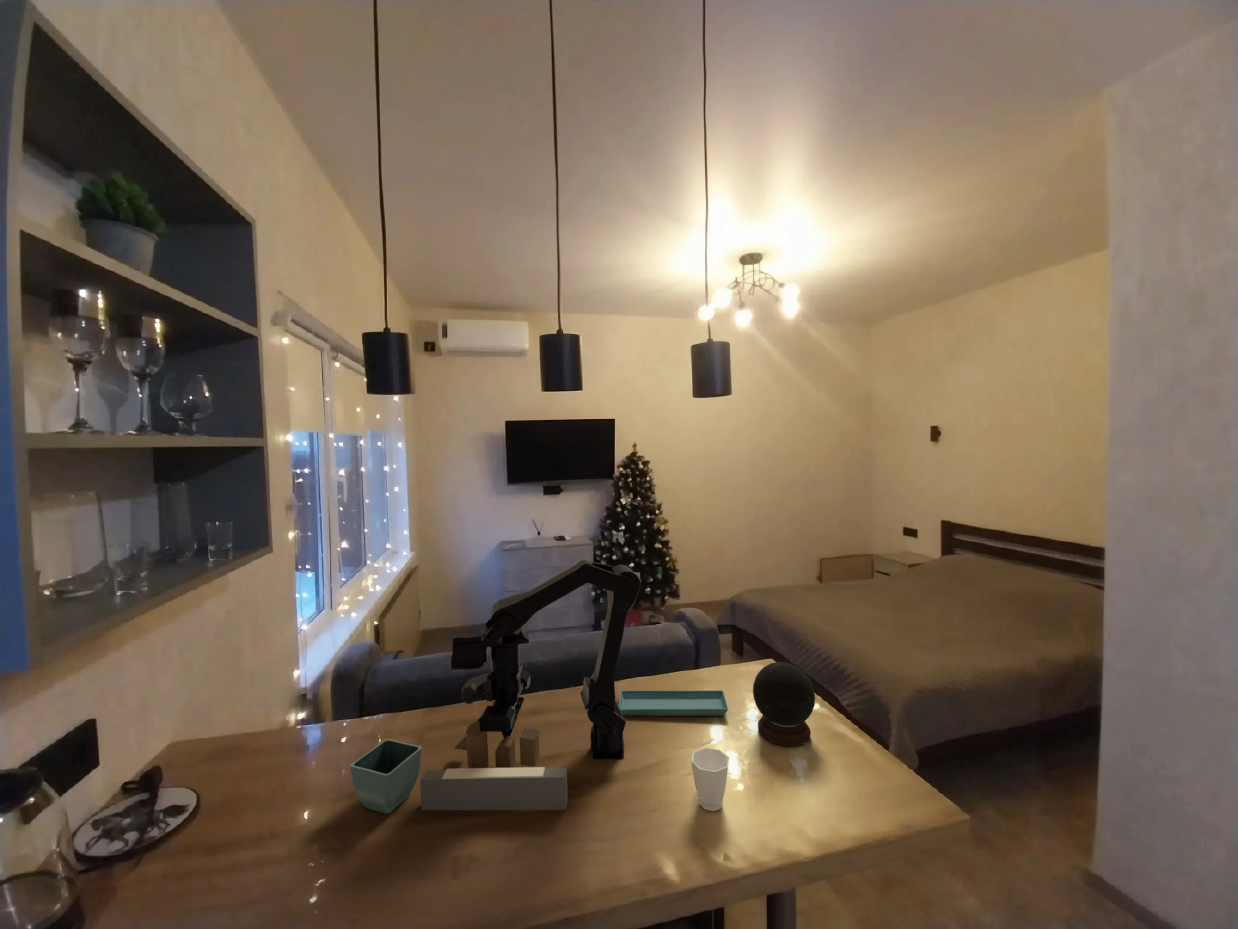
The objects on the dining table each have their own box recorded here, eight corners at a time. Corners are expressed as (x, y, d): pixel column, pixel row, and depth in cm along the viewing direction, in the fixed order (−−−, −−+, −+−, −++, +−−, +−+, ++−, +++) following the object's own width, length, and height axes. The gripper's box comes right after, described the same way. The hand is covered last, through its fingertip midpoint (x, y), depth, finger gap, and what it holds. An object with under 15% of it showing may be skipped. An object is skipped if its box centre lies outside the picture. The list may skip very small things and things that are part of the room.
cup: (696, 818, 86) (695, 773, 86) (683, 780, 96) (683, 739, 96) (736, 815, 87) (735, 769, 87) (719, 777, 97) (718, 736, 97)
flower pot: (425, 792, 95) (423, 746, 94) (389, 826, 86) (387, 775, 86) (388, 782, 98) (386, 738, 97) (350, 815, 89) (348, 766, 89)
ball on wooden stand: (743, 733, 111) (742, 667, 110) (768, 708, 121) (767, 647, 120) (802, 756, 102) (801, 684, 102) (824, 727, 112) (823, 662, 112)
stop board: (567, 800, 91) (566, 766, 91) (566, 810, 89) (565, 775, 89) (426, 802, 92) (425, 769, 92) (421, 812, 89) (419, 777, 89)
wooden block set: (542, 755, 104) (541, 712, 102) (528, 790, 95) (527, 743, 93) (461, 745, 106) (458, 702, 104) (440, 777, 98) (437, 732, 96)
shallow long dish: (617, 717, 119) (617, 707, 119) (620, 698, 129) (620, 688, 128) (728, 719, 117) (728, 709, 117) (723, 699, 127) (723, 690, 127)
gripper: (480, 644, 110) (481, 713, 111) (449, 687, 92) (451, 769, 93) (530, 645, 110) (531, 713, 111) (509, 688, 91) (510, 770, 92)
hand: (506, 739), depth 102 cm, fingers closed
